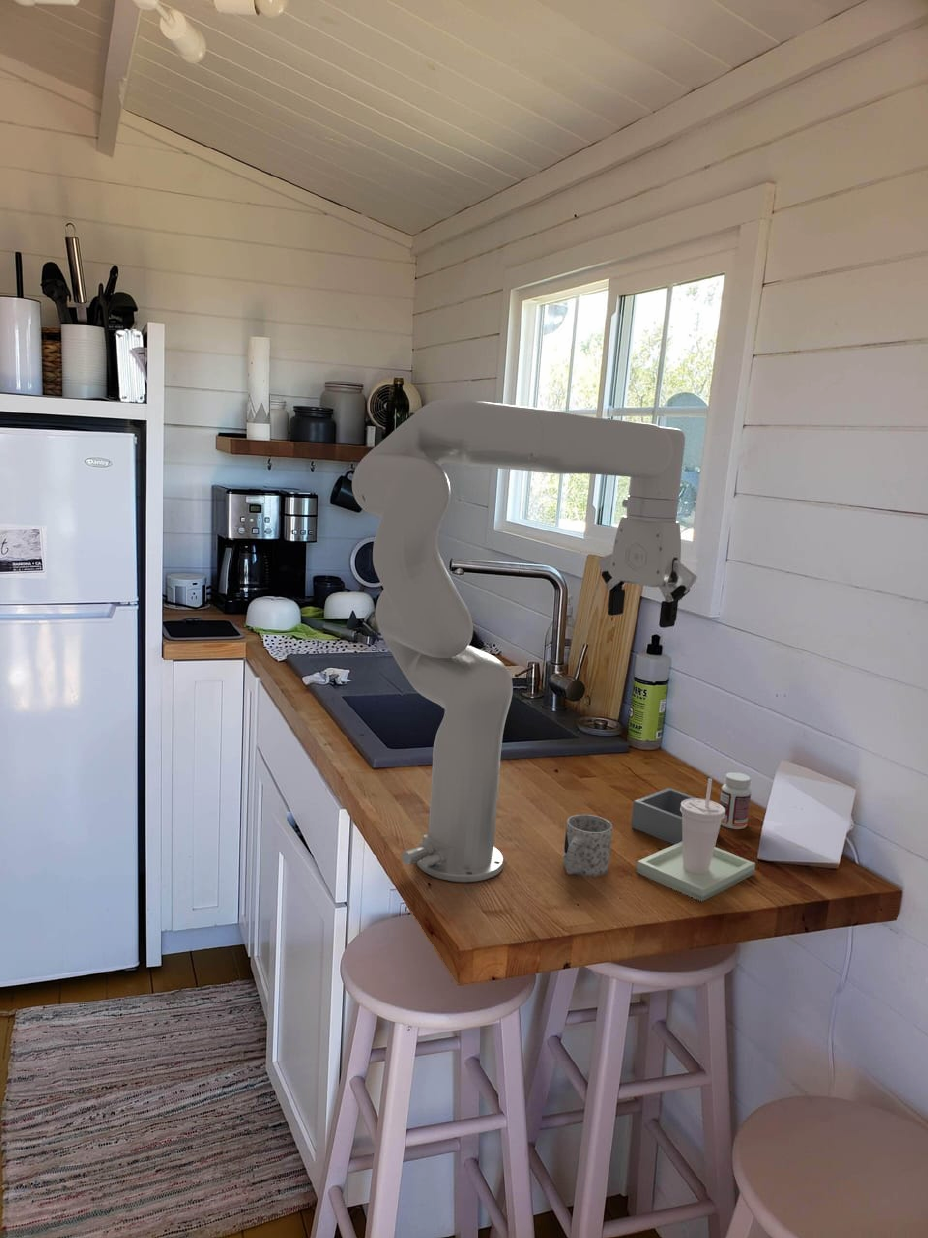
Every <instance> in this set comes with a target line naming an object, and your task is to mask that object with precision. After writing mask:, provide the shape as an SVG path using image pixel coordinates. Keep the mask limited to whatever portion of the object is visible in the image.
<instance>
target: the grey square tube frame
mask: <svg viewBox="0 0 928 1238" xmlns="http://www.w3.org/2000/svg"><path fill="white" fill-rule="evenodd" d="M691 798H697V797H695V796H693V795H690V794H687V793H684V792H682V791H679V790H676V789H674V788H670V787H667V788H665V789H662V790H660V791H656V792H654V793H651V794H648V795H646V796H643V797H640V798H637V799H635V800H633V806H632V815H631V826H630V827H631V828H633V829H635V830H637V831H640V832H643V833H644V834H647V835H650V836H652V837H655V838H657V839H660V840H662V841H664V842H666V843H669V844H672V845H675V844H677V843H680V842H682V813H681V811H680V807H681V802H682V801H684V800H686V799H691Z"/></svg>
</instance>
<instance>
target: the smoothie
mask: <svg viewBox="0 0 928 1238" xmlns="http://www.w3.org/2000/svg"><path fill="white" fill-rule="evenodd" d="M712 784H713V779H712V778H707V786H706V787H707V788H706V792H705V793H706V795H705V798H700V797H698V798H697V797H696V798H691V799H686V800H684V801H682V802H681V807H680V811H681V813H682V841H683V868H684V869H685V870H686V871H688V872H690V873H694V874H706V873H707V872H708V871H709V867H710V863H711V860H712V856H713V852H714V848H715V847H716V844H717V841H718V840H717V839H718V837H719V832H720V830H721V829H720V828H721V826H722V825H721V822H722V819H724V818H725V808H724V807H723V806H722V805H720V803H718V802H716V801H714V800H711V791H712Z"/></svg>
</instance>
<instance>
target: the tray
mask: <svg viewBox="0 0 928 1238" xmlns="http://www.w3.org/2000/svg"><path fill="white" fill-rule="evenodd" d="M636 865H637V866H636V873H637V874H639V875H641V876H642V877H645V878H647V879H650V880H651V881H655V882H656V883H659V884H660V885H663V886H665V887H667V888H669V889H671V888H672V889H671V890H674V891H676V890H677V892H678V891H679V892H678V893H680V892H681V893H680V894H682V895H685V894H686V895H685V896H687V895H689V896H690V897H689V896H688V897H689V898H691V897H693V898H692V899H693V900H696V899H697V900H696V901H698V900H699V901H698V902H700V901H701V902H700V903H703V902H705V901H706V899H707V900H708V898H709V899H711V898H712V897H714V896H716V895H718V894H720V893H723V892H724V891H725V890H727V889H729V888H731V887H733V886H736V884H737V885H738V883H741V882H742V881H744V880H746V879H748V878H750V877H751V876H754V875H755V869H756V868H755V867H756V863H755V862H754V861H751V860H748V859H746V858H744V857H740V856H738V855H737V854H736V855H735V854H734V853H731V852H729V851H726V850H723V849H721V848H719V847H716V846H715V848H714V852H713V856H712V860H711V863H710V867H709V871H708V872H707V873H706V874H694V873H690V872H688V871H686V870H685V869H684V868H683V841H682V842H680V843H677V844H675V845H674V844H672V845H670V846H669V847H666V848H664V849H661V850H659V851H657V852H655V853H653V854H650V855H648V856H645V857H644V858H641V859H639V860H637V864H636ZM710 897H711V898H710ZM704 900H705V901H704ZM702 901H703V902H702Z"/></svg>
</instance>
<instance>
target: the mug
mask: <svg viewBox="0 0 928 1238" xmlns="http://www.w3.org/2000/svg"><path fill="white" fill-rule="evenodd" d="M612 833H613V824H612V822H610V821H609V820H608V819H606V818H604V817H602V816H598V815H593V814H575V815H571V816H570V817H568V818H567V820H566V827H565V836H564V837H565V838H564V847H563V857H562V859H563V860H562V867H563V868H564V869H565V873H567V874H568V875H573V874H575V875H579V876H583V877H599V876H603V875H605V874H606V873H607V872H608V871H609V864H610V856H611V855H610V854H611V846H612V836H613V835H612Z"/></svg>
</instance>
